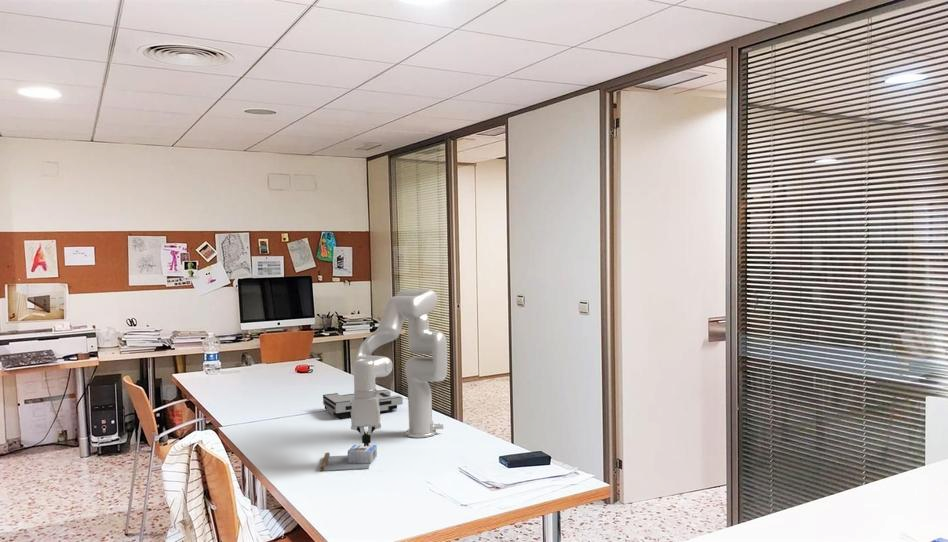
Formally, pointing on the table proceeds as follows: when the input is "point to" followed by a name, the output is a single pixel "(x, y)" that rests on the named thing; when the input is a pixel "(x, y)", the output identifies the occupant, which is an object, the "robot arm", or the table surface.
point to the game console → (343, 403)
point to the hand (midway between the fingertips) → (366, 445)
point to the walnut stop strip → (324, 461)
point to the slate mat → (343, 464)
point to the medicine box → (362, 454)
